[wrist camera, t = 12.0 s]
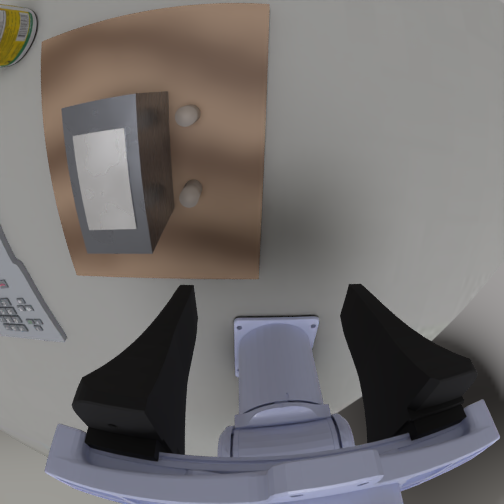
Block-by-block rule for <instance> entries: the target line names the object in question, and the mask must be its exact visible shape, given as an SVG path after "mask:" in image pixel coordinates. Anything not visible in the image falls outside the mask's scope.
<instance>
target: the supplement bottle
mask: <svg viewBox="0 0 504 504" xmlns="http://www.w3.org/2000/svg"><path fill="white" fill-rule="evenodd" d="M36 26H37V22H36V16H35V14H34V13H33V11H31V10H30V9H27V8H23V7H16V6H9V5H2V4H0V67H6V66H10V65H13V64H14V63H16V62H17V61H19V60H20V59H21V58H22V57H23V56H24V54H25V53H26V52H27V50H28V49H29V47H30V45H31V43H32V41H33V39H34V36H35V32H36Z"/></svg>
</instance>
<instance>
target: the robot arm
mask: <svg viewBox="0 0 504 504" xmlns="http://www.w3.org/2000/svg"><path fill="white" fill-rule="evenodd" d="M340 317H341V322H342V327H343V332H344V335H345V338H346V341H347V344H348V347H349V350H350V352H351V355H352V358H353V361H354V364H355V367H356V370H357V373H358V376H359V381H360V386H361V391H362V396H363V402H364V409H365V417H366V426H367V444H363V445H358V446H355V444H354V439H353V434H352V431H351V428H350V426H349V424H348V422H347V420H346V419H344V418H343V417H341V416H340V415H339V414H332V415H331V413H330V408H329V404H323V399H322V394H321V390H320V385H319V380H318V376H317V371H316V367H315V362H314V358H313V353H312V347H313V344H314V340H315V336H316V332H317V329H318V325H319V318H318V317H316V316H308V317H271V318H236V319H235V320H234V349H235V376H236V377H239V414H237V415H235V426H228V427H226V429H225V430H224V431H223V432H222V433H221V435H220V438H219V442H218V457H208V456H192V455H185V411H186V394H187V383H188V376H189V371H190V366H191V361H192V356H193V351H194V346H195V341H196V334H197V321H198V316H197V308H196V300H195V292H194V285H180V286H179V287H178V288H177V290H176V292H175V293H174V295H173V296H172V297H171V299H170V300H169V302H168V303H167V305H166V306H165V307H164V308H163V310H162V311H161V312H160V314H159V315H158V316H157V318H156V319H155V320H154V321H153V322H152V323H151V325H150V326H149V327H148V328H147V329H146V330H145V331H144V332H143V333H142V334H141V335H140V336H139V337H138V338H137V339H136V340H135V341H134V342H133V343H132V344H131V345H130V346H129V347H128V348H126V349H125V350H124V351H123V352H122V353H120V354H119V355H118V356H116V357H115V358H114V359H112V360H111V361H109V362H108V363H107V364H105V365H103V366H102V367H100V368H99V369H97V370H95V371H93V372H91V373H90V374H88V375H86V376H84V377H82V379H81V382H80V384H79V386H78V388H77V391H76V394H75V397H74V400H73V403H72V407H73V410H74V411H75V413H76V414H77V415H78V416H79V417H80V418H81V419H82V421H83V422H84V423H85V424H86V425H87V426H88V430H87V433H86V432H84V431H82V430H79V429H76V428H73V427H69V426H66V425H63V424H58V425H57V428H56V431H55V434H54V438H53V441H52V444H51V448H50V451H49V455H48V459H47V463H46V467H45V473H47V474H48V475H50V476H52V477H54V478H55V479H57V480H59V481H61V482H63V483H64V484H66V485H68V486H70V487H72V488H74V489H77V490H80V491H83V492H86V493H88V494H92V495H95V496H98V497H102V498H105V499H108V500H111V501H115V502H118V503H122V504H403V500H402V495H401V491H403V490H406V489H408V488H411V487H413V486H416V485H418V484H421V483H423V482H425V481H428V480H430V479H432V478H434V477H436V476H439V475H441V474H443V473H445V472H447V471H449V470H451V469H453V468H455V467H457V466H459V465H461V464H463V463H465V462H467V461H469V460H470V459H472V458H474V457H475V456H476V455H478V454H479V453H481V452H482V451H484V450H485V449H486V448H488V447H489V446H490V445H492V444H493V443H494V442H496V441H497V440H498V439H499V438H500V436H499V433H498V431H497V429H496V426H495V424H494V422H493V419H492V417H491V415H490V413H489V411H488V408H487V406H486V404H485V402H484V400H480V401H478V402H476V403H473V404H471V405H469V406H467V407H466V408H464V409H463V407H462V405H461V404H463V403H464V399H463V397H462V395H463V394H464V393H465V392H466V390H468V388H469V387H470V386H471V385H472V384H473V382H474V381H475V379H476V377H477V371H476V369H475V367H474V365H473V364H472V362H471V360H470V359H469V358H466V357H463V356H461V355H458V354H456V353H453V352H451V351H449V350H447V349H445V348H443V347H440V346H439V345H436V344H435V343H433V342H432V341H430V340H428V339H427V338H425V337H423V336H422V335H420V334H419V333H417V332H416V331H415V330H413V329H412V328H410V327H409V326H408V325H406V324H405V323H404V322H403V321H401V320H400V319H399V318H398V317H397V316H395V315H394V314H393V313H392V312H391V311H390V310H389V309H387V308H386V307H385V306H384V305H383V304H382V303H381V302H380V301H379V300H378V299H377V298H376V297H375V296H374V295H372V294H371V293H370V292H369V291H368V290H367V289H366V288H365V287H364V286H363V285H361V284H349V287H348V290H347V294H346V298H345V301H344V304H343V308H342V311H341V315H340ZM313 324H314V325H313ZM238 326H241V327H238Z"/></svg>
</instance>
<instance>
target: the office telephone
mask: <svg viewBox="0 0 504 504" xmlns="http://www.w3.org/2000/svg"><path fill="white" fill-rule="evenodd" d="M0 335H1V336H9V337H18V338H28V339H40V340H44V341H54V342H65V340H66V338H67V336H66V334H65V332H64V331H63V329H62V328H61V326H60V325H59V323H58V322H57V320H56V318H55V317H54V315H53V314H52V312H51V311H50V309H49V307H48V306H47V304H46V303H45V301H44V299H43V298H42V296H41V294H40V292H39V291H38V289H37V287H36V285H35V284H34V282H33V280H32V278H31V276H30V274H29V273H28V271H27V269H26V268H25V266H24V264H23V263H22V262H21V261H20V260H18V259H17V258H16V257H15V255H14V253H13V251H12V250H11V247H10V245H9V243H8V241H7V239H6V237H5V234H4V232H3V230H2V228H1V225H0Z"/></svg>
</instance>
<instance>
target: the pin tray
mask: <svg viewBox="0 0 504 504" xmlns="http://www.w3.org/2000/svg"><path fill="white" fill-rule="evenodd" d="M268 37H269V4H254V3H219V4H200V5H187V6H178V7H170V8H162V9H156V10H150V11H144V12H139V13H134V14H129V15H124V16H120V17H116V18H112V19H108V20H104V21H100V22H97V23H93V24H90V25H87V26H83V27H80V28H77V29H74V30H71V31H68V32H66V33H63V34H60V35H57V36H55V37H52V38H50V39H47V40H45V41H43V42H42V50H41V94H42V111H43V123H44V133H45V141H46V149H47V156H48V162H49V168H50V174H51V180H52V185H53V190H54V195H55V199H56V204H57V208H58V212H59V216H60V220H61V224H62V228H63V232H64V235H65V239H66V242H67V246H68V249H69V252H70V255H71V259H72V262H73V265H74V268H75V271H76V274H77V275H82V276H107V277H137V278H181V279H259V258H260V237H261V216H262V194H263V171H264V147H265V121H266V95H267V67H268ZM163 91H168V98H169V130H170V150H171V166H172V180H173V193H174V204H175V208H174V210H173V212H172V214H171V216H170V218H169V220H168V222H167V224H166V226H165V228H164V231H163V233H162V235H161V237H160V239H159V241H158V243H157V245H156V247H155V250H154V252H153V254H87V250H86V247H85V243H84V239H83V236H82V232H81V228H80V224H79V219H78V215H77V211H76V206H75V202H74V197H73V192H72V187H71V181H70V176H69V170H68V163H67V157H66V149H65V142H64V133H63V123H62V111H61V108H65V107H69V106H73V105H77V104H82V103H86V102H91V101H95V100H100V99H106V98H111V97H117V96H123V95H129V94H136V93H148V92H163Z"/></svg>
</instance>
